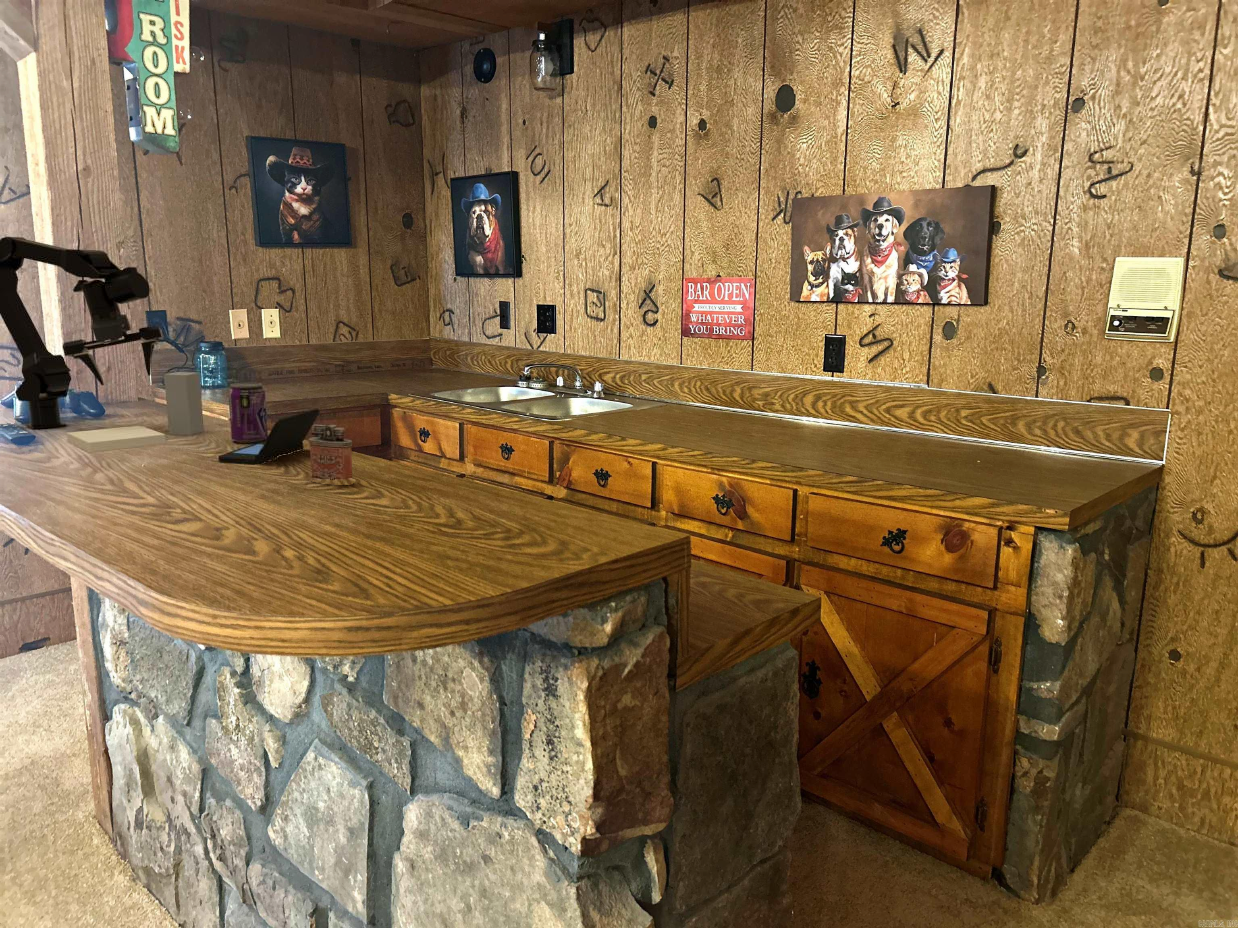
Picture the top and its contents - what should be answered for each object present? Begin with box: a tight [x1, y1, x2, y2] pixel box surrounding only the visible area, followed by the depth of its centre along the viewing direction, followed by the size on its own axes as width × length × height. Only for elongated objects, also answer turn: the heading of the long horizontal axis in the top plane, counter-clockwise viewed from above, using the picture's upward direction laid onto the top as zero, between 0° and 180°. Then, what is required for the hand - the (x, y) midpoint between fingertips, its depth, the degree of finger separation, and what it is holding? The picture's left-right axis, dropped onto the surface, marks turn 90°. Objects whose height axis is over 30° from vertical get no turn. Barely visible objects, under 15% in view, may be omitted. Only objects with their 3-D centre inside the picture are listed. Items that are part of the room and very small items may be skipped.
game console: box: [217, 408, 320, 465], centre depth 172 cm, size 16×14×9 cm
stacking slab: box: [66, 425, 167, 454], centre depth 182 cm, size 14×14×2 cm
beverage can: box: [228, 382, 269, 444], centre depth 186 cm, size 7×7×12 cm
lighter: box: [308, 424, 353, 480], centre depth 152 cm, size 8×3×10 cm, turn 71°
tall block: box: [163, 371, 205, 436], centre depth 194 cm, size 5×5×13 cm
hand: (126, 380), depth 192 cm, fingers open, 9 cm apart
